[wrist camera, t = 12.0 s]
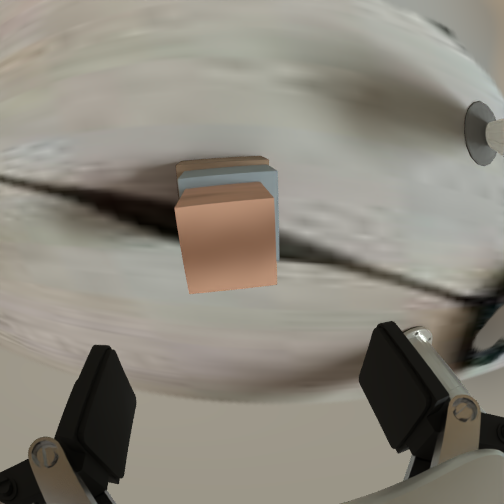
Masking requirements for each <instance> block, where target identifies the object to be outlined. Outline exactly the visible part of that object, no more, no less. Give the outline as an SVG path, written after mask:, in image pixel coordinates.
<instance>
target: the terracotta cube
mask: <svg viewBox="0 0 504 504" xmlns="http://www.w3.org/2000/svg"><path fill="white" fill-rule="evenodd" d="M175 215H176V221H177V228H178V234H179V240H180V246H181V252H182V258H183V263H184V269H185V274H186V279H187V284H188V289H189V294H195V293H205V292H215V291H225V290H234V289H243V288H252V287H261V286H269V285H277V262H276V231H275V205H274V197H273V196H272V195H271V194H270V192H269V191H268V190H267V189H266V188H265V187H264V186H263V184H262V183H261V182H248V183H237V184H226V185H216V186H207V187H198V188H190V189H185V190H184V192H183V194H182V196H181V197H180V199H179V201H178V203H177V204H176V206H175Z"/></svg>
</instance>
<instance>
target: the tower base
mask: <svg viewBox="0 0 504 504" xmlns="http://www.w3.org/2000/svg"><path fill="white" fill-rule="evenodd" d="M265 164H267V165H269V160H268V159H266V158H264V157H262V156H249V157H228V158H212V159H199V160H188V161H181V162H180V163H179V164H177V165H176V175H177V187H178V178H179V177H180V176H181V175H182V173H183V172H184V171H191V170H200V169H210V168H221V167H234V166H248V165H265ZM178 197H179V188H178ZM179 199H180V197H179Z"/></svg>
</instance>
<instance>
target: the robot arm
mask: <svg viewBox="0 0 504 504" xmlns="http://www.w3.org/2000/svg"><path fill="white" fill-rule="evenodd" d="M431 344H432V334H431V332H430V331H429V330H428V329H427V328H425V327H416V328H413V329H410V330H408V331H406V332H404V333H403V332H402V331H401V330H400V328H399V327H398V326H397V325H396V323H394V322H393V321H390V322H385V323H380V324H378V325H377V327H376V328H375V329H374V330H373V333H372V336H371V340H370V343H369V347H368V350H367V353H366V357H365V360H364V363H363V366H362V369H361V372H360V375H359V383H360V385H361V387H362V389H363V391H364V393H365V395H366V397H367V399H368V401H369V403H370V405H371V407H372V409H373V411H374V413H375V415H376V417H377V419H378V421H379V423H380V425H381V427H382V429H383V431H384V433H385V435H386V438H387V440H388V442H389V444H390V445H391V447H392V448H393V449H396V451H397V452H398V453H401V452H404V451H406V450H408V449H410V451H411V453H412V456H411V459H410V462H409V465H408V469H407V471H406V474H405V477H404V480H403V482H400V483H398V484H395V485H393V486H390V487H388V488H385V489H383V490H380V491H378V492H375V493H372V494H369V495H366V496H364V497H360V498H357V499H354V500H351V501H348V502H344V503H341V504H504V417H499V416H495V415H491V414H487V413H486V412H485V411H484V410H483V409H482V408H481V407H480V405H479V404H478V402H477V401H476V400H475V399H474V398H473V397H472V396H471V394H470V393H469V392H468V390H467V389H466V388H465V386H464V385H463V384H462V383H461V381H460V380H459V379H458V377H457V376H456V375H455V374H454V372H453V371H452V370H451V369H450V367H449V366H448V365H447V363H446V362H445V361H444V360H443V359H442V357H441V356H440V355H439V354H438V352H437V351H436V350H435V349H434V348H433V346H432V345H431ZM135 408H136V397H135V394H134V392H133V390H132V388H131V386H130V383H129V381H128V379H127V377H126V375H125V372H124V370H123V368H122V366H121V363H120V361H119V358H118V356H117V354H116V351H115V350H112V349H111V347H110V346H108V345H94V346H93V347H92V349H91V351H90V353H89V355H88V358H87V360H86V362H85V364H84V367H83V369H82V371H81V374H80V376H79V378H78V380H77V381H76V382H75V384H74V387H73V389H72V392H71V394H70V397H69V399H68V402H67V404H66V407H65V409H64V412H63V415H62V418H61V420H60V423H59V426H58V429H57V432H56V435H55V438H54V439H53V438H51V437H40V438H38V439H36V440H35V441H34V442H33V443H32V444H31V445H30V448H29V450H28V458H29V459H27V460H25V461H23V462H21V463H19V464H17V465H15V466H13V467H11V468H9V469H6V470H4V471H2V472H0V504H116V503H115V501H114V500H113V498H112V497H111V495H110V494H109V492H108V491H107V486H108V482H111V483H115V484H119V479H120V478H123V476H124V472H125V465H126V458H127V452H128V446H129V439H130V434H131V429H132V423H133V418H134V413H135Z"/></svg>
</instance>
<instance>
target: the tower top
mask: <svg viewBox="0 0 504 504" xmlns="http://www.w3.org/2000/svg"><path fill="white" fill-rule="evenodd" d="M248 182H261V183H262V184H263V186H264V187H265V188H266V189H267V190H268V191H269V192H270V194H271V195H272V196H273V197H274V205H275V231H276V261H279V210H278V172H277V170H275V169H273V168H272V167H270V166H269V165H267V164H265V165H248V166H234V167H221V168H210V169H200V170H191V171H184V172H183V173H182V175H181V176H180V177H179V178H178V188H179V197H181V196H182V194H183V192H184V190H185V189H190V188H198V187H207V186H216V185H226V184H237V183H248Z"/></svg>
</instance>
